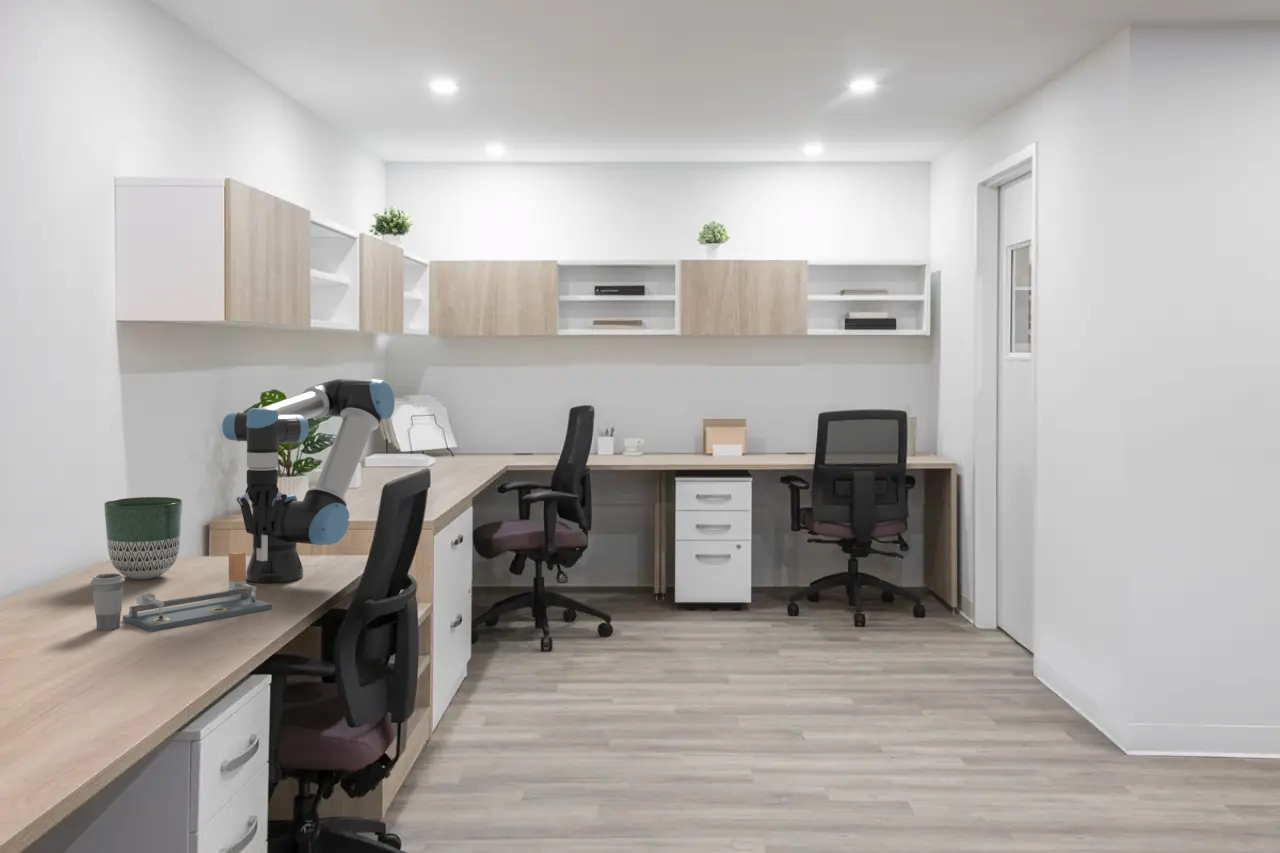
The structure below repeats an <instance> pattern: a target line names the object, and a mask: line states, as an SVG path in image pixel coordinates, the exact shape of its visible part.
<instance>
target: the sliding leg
mask: <svg viewBox="0 0 1280 853" xmlns="http://www.w3.org/2000/svg"><path fill="white" fill-rule="evenodd" d="M246 558H247V554H246V552H244V551H234V552H228V589H229V590H238V589H244V588H245V589H248V591H249V590H250V592H251V594H250V595H251V596H250V597H251V602H255V599H256V591H257V586H254V585H251V584H248V583H247V579H246V571H247V562H246V561H247V559H246Z"/></svg>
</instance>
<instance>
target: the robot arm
mask: <svg viewBox="0 0 1280 853" xmlns="http://www.w3.org/2000/svg"><path fill="white" fill-rule="evenodd" d="M395 404H396V403H395V395H394V391H393V389H392V387H391V386H390V384H389V383H388V382H387V381H385V380H382V379H375V378H371V379H362V378H361V379H360V378H358V379H357V378H337V379H333V380H329V381H324V382H322V383H318V384H316V385H314V386H309V387H307V388H306V389H305V390H304V391H302V393H300V394H298V395H295V396H292V397H289V398H285V399H282V400H280V401H277V402H274V403H270V404H268V405H265V406H262V407H258V408H257V407H254V408H250V409H248V410H247V411H246V412H229V413H227V415H225V416H224V418H223V420H222V422H221V423H222V424H221V428H222V433H223V436H224V437H225V438H226V439H227V440H229V441H236V442H246V467H247V468H248V469H247V470H246V489H245V494H243V495H242V496H238V497H237V498H236V501H237V503H238V504H239V506H240V510H241V514H242V518H243V522H244V526H245V531H246V533H247V534H250V535H252V553H251V557H250V560H249V562H248V564H247V565H248V566H247V567H246V581H249V582H252V583H262V584H263V583H265V584H267V583H268V584H269V583H271V584H274V583H275V584H276V583H285V582H286V583H287V582H293V581H296V580H300V579H302V578H303V577H304V568H303V564H302V562H301V559H300V556H299V553H298V550H297V544H306V545H316V546H331V545H334V544H336V543H338V542H339V541H341V540H342V539H343V538H344V536H345V535H346V533H347V531H348V528H349V526H350V520H349V519H350V512H349V509H348V508H347V507H348V505H347V504H348V503H347V502H346V500H345V496H346V494H347V492H348V489H349V488H350V484H351V482H352V479H353V477H354V474H355V472H356V470H357V468H358V465H359V462H360V460H361V457H362V454H363V452H364V449H365V447H366V444H367V442H368V440H369V437H370V434H371V432H373V431H375V430H378V428H379V426H380V423H381V421H382V420H387V419H390V418H391V417H392V416H393V415H394V411H395ZM325 417H328V418H329V417H335V418H341V419H342V422H341V424H340V427H339V430H338V432H337V434H336V436H335V438H334V441H333V443H332V446H331V448H330V451H329V452H328V455H327V458H326V459H325V462H324V464H323V466H322V469H321V472H320V474H319V476H318V479H317V481H316V483H315V486H314V487H313V488H310V489H308V490H307V491H306V492H305V495H304V497H303V500H298V497H297V495H296V494H286V493H285V494H284V493H282V492H281V491H280V490H279V487H278V482H279V481H278V480H279V479H278V478H279V470H278V469H277V468H278V467H279V452H278V451H279V446H278V445H279V444H296V443H299V442H302V441H304V440H305V439H306V438H307V436H308V434H309V432H310V431H309V430H310V426H309V422H308V420H309V419H316V420H317V419H321V418H325ZM250 502H251V506H250ZM251 508H252V509H251Z"/></svg>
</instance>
